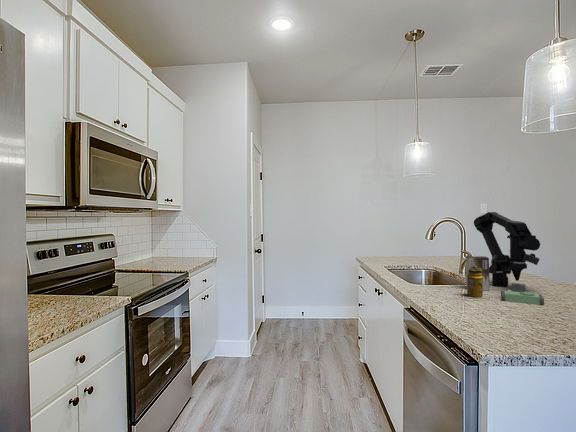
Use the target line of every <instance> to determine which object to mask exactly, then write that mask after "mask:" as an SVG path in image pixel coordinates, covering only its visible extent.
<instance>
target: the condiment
mask: <svg viewBox="0 0 576 432" xmlns="http://www.w3.org/2000/svg"><path fill="white" fill-rule="evenodd" d="M481 275H482V274H481V270H477V269H469V270H468V276H467V287H466V289H467V290H466V291H467V292H466V293H459V295H460V296H462V297H464V298H467V299H487V298H488V297H487V296H483V293H484V291H483V277H482V276H481Z"/></svg>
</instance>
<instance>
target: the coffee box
mask: <svg viewBox="0 0 576 432" xmlns="http://www.w3.org/2000/svg"><path fill="white" fill-rule="evenodd" d="M489 267H490V258H489V257H488V256H479V255H476V256H474V255H473V256H472V255H465V283H466V284H465V287H466V288H467V276H468V270H469V269H477V270H481V274H482V275H481V276H482V277H483V292H486V291H487V292H488V291H489V292H490V285H491V284H490V273H489Z"/></svg>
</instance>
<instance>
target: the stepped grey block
mask: <svg viewBox="0 0 576 432" xmlns="http://www.w3.org/2000/svg"><path fill="white" fill-rule="evenodd" d="M526 289H527V287H526V284H525V283H514V282H511V288H510V290H511V291H514V292H527V291H526Z"/></svg>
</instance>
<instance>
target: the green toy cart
mask: <svg viewBox="0 0 576 432" xmlns="http://www.w3.org/2000/svg"><path fill="white" fill-rule="evenodd" d="M500 298H501V301H505V302H512V303H522V304H531V305H544V306H545V298H544V297H543V295H542V294H540V293H535V292H532V291H526V292H514V291H511V289H507V290H500Z"/></svg>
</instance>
